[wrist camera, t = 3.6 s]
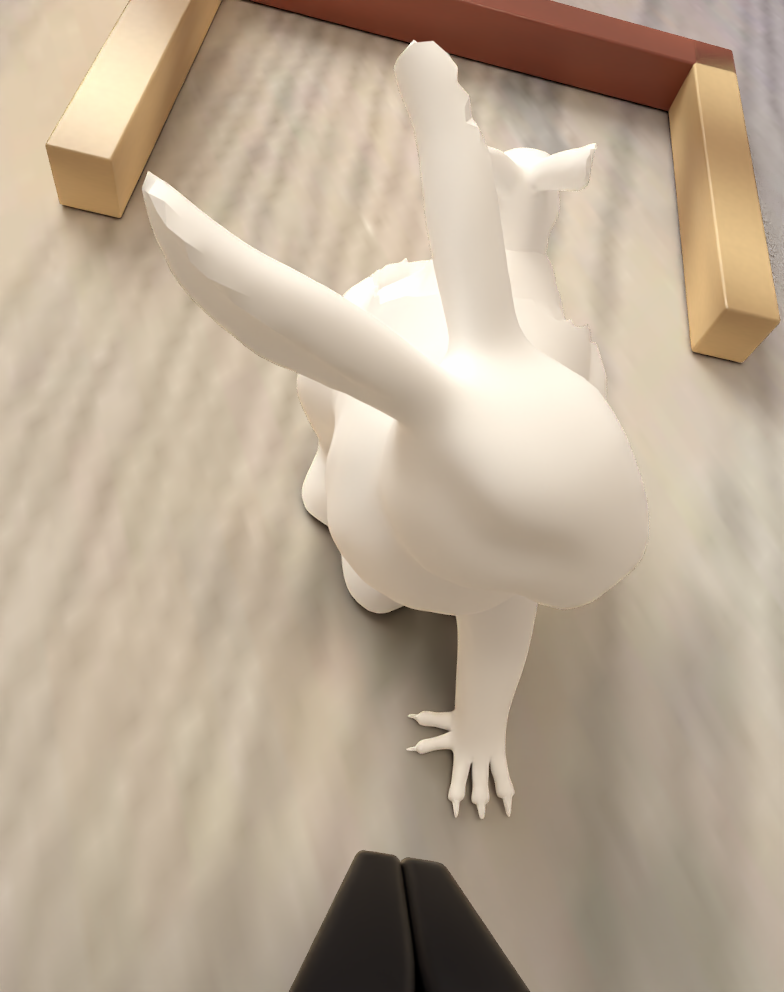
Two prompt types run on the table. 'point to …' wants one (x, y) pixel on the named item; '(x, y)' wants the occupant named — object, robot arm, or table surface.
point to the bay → (494, 40)
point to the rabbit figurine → (446, 407)
